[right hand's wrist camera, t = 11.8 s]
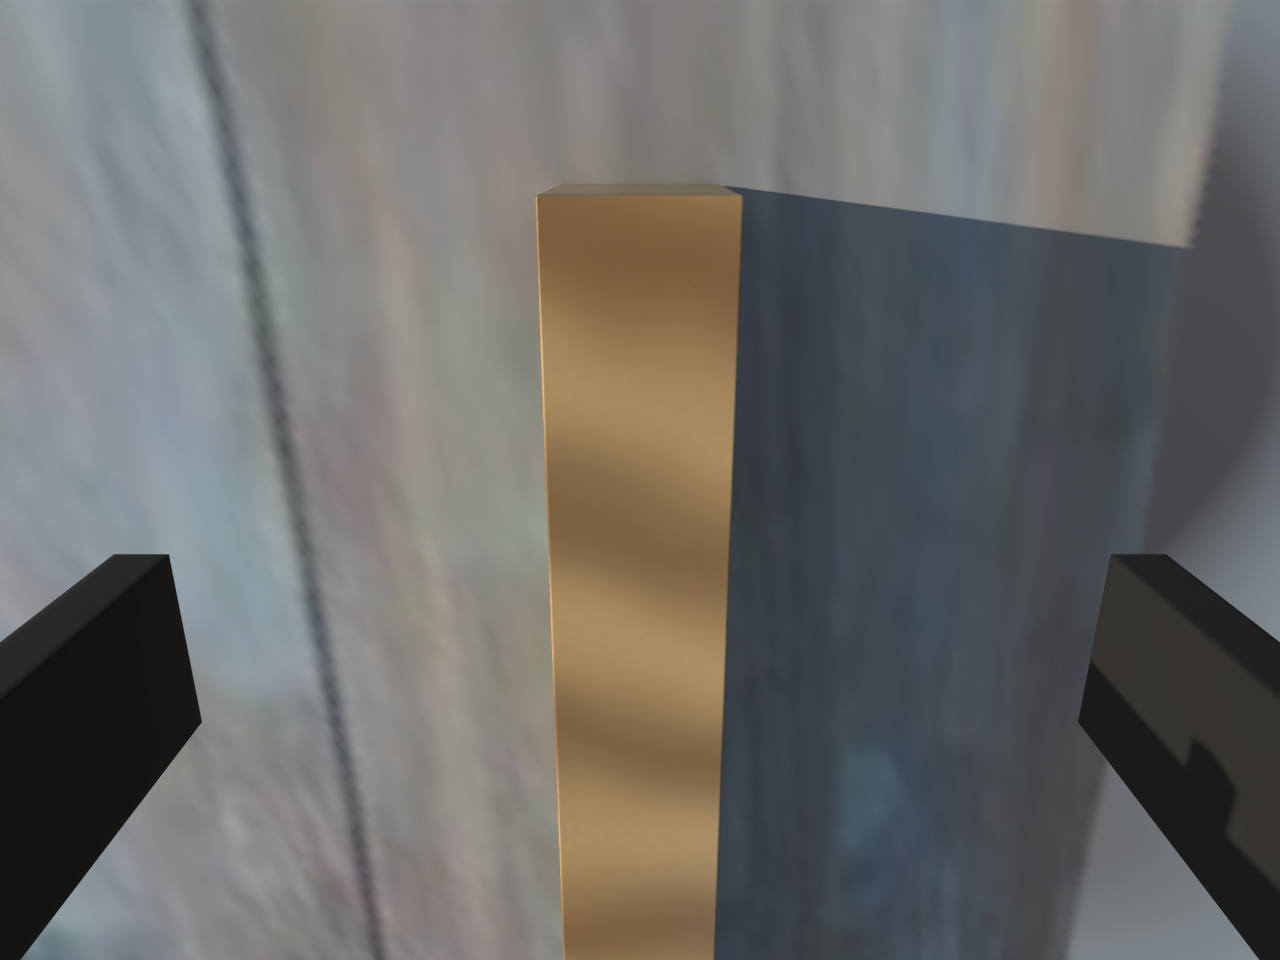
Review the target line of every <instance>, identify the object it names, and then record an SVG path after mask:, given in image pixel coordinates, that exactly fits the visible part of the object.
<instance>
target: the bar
mask: <svg viewBox="0 0 1280 960" xmlns="http://www.w3.org/2000/svg"><path fill="white" fill-rule="evenodd" d="M535 203H536V230H537V256H538V283H539V310H540V337H541V364H542V391H543V417H544V444H545V471H546V498H547V525H548V552H549V578H550V605H551V632H552V659H553V686H554V713H555V739H556V766H557V793H558V820H559V847H560V874H561V900H562V927H563V954H564V960H715V935H716V909H717V883H718V856H719V830H720V804H721V778H722V752H723V726H724V700H725V673H726V647H727V621H728V595H729V569H730V543H731V517H732V491H733V464H734V438H735V412H736V386H737V360H738V334H739V308H740V282H741V255H742V229H743V203H744V197H743V196H742V195H740V194H738V193H735V192H733V191H731V190H729V189H727V188H725V187H722V186H720V185H559V186H557V187H555V188H552V189H550V190H548V191H546V192H543V193H541V194H539V195H537V196H536V197H535Z"/></svg>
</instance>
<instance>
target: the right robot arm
mask: <svg viewBox="0 0 1280 960" xmlns="http://www.w3.org/2000/svg"><path fill="white" fill-rule="evenodd" d="M201 722H202V720H201V715H200V710H199V705H198V700H197V695H196V690H195V685H194V680H193V674H192V669H191V664H190V659H189V654H188V649H187V644H186V639H185V634H184V629H183V624H182V619H181V614H180V608H179V603H178V598H177V593H176V588H175V583H174V578H173V573H172V568H171V563H170V558H169V554H114V555H112V556H111V557H110V558H109V559H107V560H106V561H105V562H103V563H102V564H101V565H100V566H98V567H97V568H96V569H94V570H93V571H92V572H91V573H89V574H88V575H87V576H85V577H84V578H83V579H81V580H80V581H79V582H78V583H76V584H75V585H74V586H72V587H71V588H70V589H69V590H67V591H66V592H65V593H63V594H62V595H61V596H59V597H58V598H57V599H56V600H54V601H53V602H52V603H50V604H49V605H48V606H47V607H45V608H44V609H43V610H41V611H40V612H39V613H37V614H36V615H35V616H34V617H32V618H31V619H30V620H28V621H27V622H26V623H25V624H23V625H22V626H21V627H19V628H18V629H17V630H16V631H14V632H13V633H12V634H10V635H9V636H8V637H6V638H5V639H4V640H3V641H1V642H0V960H21V958H22V957H23V956H24V955H25V953H26V952H27V951H28V949H29V948H30V947H31V945H32V944H33V943H34V941H35V940H36V939H37V938H38V936H39V935H40V934H41V932H42V931H43V930H44V928H45V927H46V926H47V924H48V923H49V922H50V920H51V919H52V918H53V917H54V915H55V914H56V913H57V911H58V910H59V909H60V907H61V906H62V905H63V903H64V902H65V901H66V899H67V898H68V897H69V896H70V894H71V893H72V892H73V890H74V889H75V888H76V886H77V885H78V884H79V882H80V881H81V880H82V879H83V877H84V876H85V875H86V873H87V872H88V871H89V869H90V868H91V867H92V865H93V864H94V863H95V861H96V860H97V859H98V858H99V856H100V855H101V854H102V852H103V851H104V850H105V848H106V847H107V846H108V844H109V843H110V842H111V840H112V839H113V838H114V837H115V835H116V834H117V833H118V831H119V830H120V829H121V827H122V826H123V825H124V823H125V822H126V821H127V820H128V818H129V817H130V816H131V814H132V813H133V812H134V810H135V809H136V808H137V806H138V805H139V804H140V802H141V801H142V800H143V799H144V797H145V796H146V795H147V793H148V792H149V791H150V789H151V788H152V787H153V785H154V784H155V783H156V781H157V780H158V779H159V778H160V776H161V775H162V774H163V772H164V771H165V770H166V768H167V767H168V766H169V764H170V763H171V762H172V761H173V759H174V758H175V757H176V755H177V754H178V753H179V751H180V750H181V749H182V747H183V746H184V745H185V743H186V742H187V741H188V740H189V738H190V737H191V736H192V734H193V733H194V732H195V730H196V729H197V728H198V726H199V725H200V724H201ZM1078 722H1079V724H1080V725H1081V726H1082V728H1083V729H1084V730H1085V732H1086V733H1087V734H1088V736H1089V737H1090V738H1091V740H1092V741H1093V742H1094V743H1095V745H1096V746H1097V747H1098V749H1099V750H1100V751H1101V753H1102V754H1103V755H1104V757H1105V758H1106V759H1107V761H1108V762H1109V763H1110V764H1111V766H1112V767H1113V768H1114V770H1115V771H1116V772H1117V774H1118V775H1119V776H1120V777H1121V779H1122V780H1123V781H1124V783H1125V784H1126V785H1127V787H1128V788H1129V789H1130V791H1131V792H1132V793H1133V795H1134V796H1135V797H1136V799H1137V800H1138V801H1139V802H1140V804H1141V805H1142V806H1143V808H1144V809H1145V810H1146V812H1147V813H1148V814H1149V816H1150V817H1151V818H1152V820H1153V821H1154V822H1155V823H1156V825H1157V826H1158V827H1159V829H1160V830H1161V831H1162V833H1163V834H1164V835H1165V837H1166V838H1167V839H1168V840H1169V842H1170V843H1171V844H1172V846H1173V847H1174V848H1175V850H1176V851H1177V852H1178V854H1179V855H1180V856H1181V857H1182V859H1183V860H1184V861H1185V863H1186V864H1187V865H1188V867H1189V868H1190V869H1191V871H1192V872H1193V873H1194V875H1195V876H1196V877H1197V879H1198V880H1199V881H1200V882H1201V884H1202V885H1203V886H1204V888H1205V889H1206V890H1207V892H1208V893H1209V894H1210V896H1211V897H1212V898H1213V899H1214V901H1215V902H1216V903H1217V905H1218V906H1219V907H1220V909H1221V910H1222V911H1223V913H1224V914H1225V915H1226V917H1227V918H1228V919H1229V920H1230V922H1231V923H1232V924H1233V926H1234V927H1235V928H1236V930H1237V931H1238V932H1239V934H1240V935H1241V936H1242V938H1243V939H1244V940H1245V941H1246V943H1247V944H1248V945H1249V947H1250V948H1251V949H1252V951H1253V952H1254V953H1255V955H1256V956H1257V957H1258V958H1259V960H1280V642H1279V641H1277V640H1276V639H1275V638H1274V637H1272V636H1271V635H1270V634H1268V633H1267V632H1266V631H1264V630H1263V629H1262V628H1261V627H1259V626H1258V625H1257V624H1255V623H1254V622H1253V621H1252V620H1250V619H1249V618H1248V617H1246V616H1245V615H1244V614H1242V613H1241V612H1240V611H1239V610H1237V609H1236V608H1235V607H1233V606H1232V605H1231V604H1229V603H1228V602H1227V601H1226V600H1224V599H1223V598H1222V597H1221V596H1219V595H1218V594H1217V593H1215V592H1214V591H1213V590H1211V589H1210V588H1209V587H1208V586H1206V585H1205V584H1204V583H1202V582H1201V581H1200V580H1199V579H1197V578H1196V577H1195V576H1193V575H1192V574H1191V573H1189V572H1188V571H1187V570H1186V569H1184V568H1183V567H1182V566H1180V565H1179V564H1178V563H1177V562H1175V561H1174V560H1173V559H1171V558H1170V557H1169V556H1168V555H1166V554H1111V558H1110V563H1109V568H1108V573H1107V578H1106V583H1105V588H1104V593H1103V598H1102V603H1101V608H1100V614H1099V619H1098V624H1097V629H1096V634H1095V639H1094V644H1093V649H1092V654H1091V659H1090V664H1089V669H1088V674H1087V680H1086V685H1085V690H1084V695H1083V700H1082V705H1081V710H1080V715H1079V720H1078Z"/></svg>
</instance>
